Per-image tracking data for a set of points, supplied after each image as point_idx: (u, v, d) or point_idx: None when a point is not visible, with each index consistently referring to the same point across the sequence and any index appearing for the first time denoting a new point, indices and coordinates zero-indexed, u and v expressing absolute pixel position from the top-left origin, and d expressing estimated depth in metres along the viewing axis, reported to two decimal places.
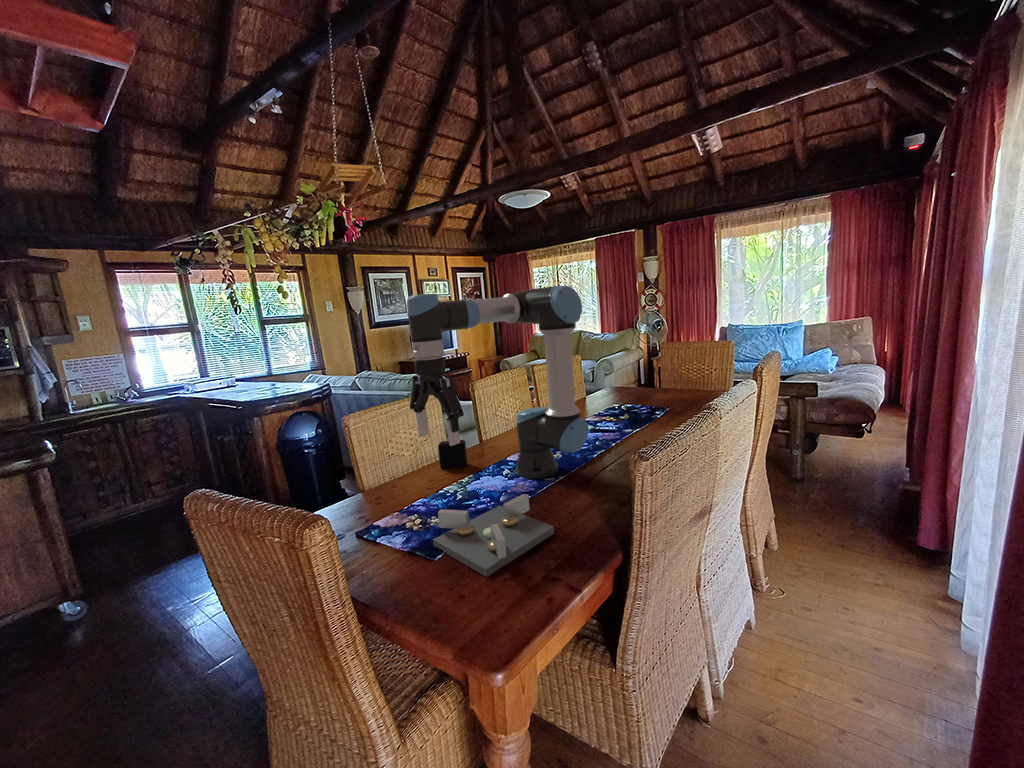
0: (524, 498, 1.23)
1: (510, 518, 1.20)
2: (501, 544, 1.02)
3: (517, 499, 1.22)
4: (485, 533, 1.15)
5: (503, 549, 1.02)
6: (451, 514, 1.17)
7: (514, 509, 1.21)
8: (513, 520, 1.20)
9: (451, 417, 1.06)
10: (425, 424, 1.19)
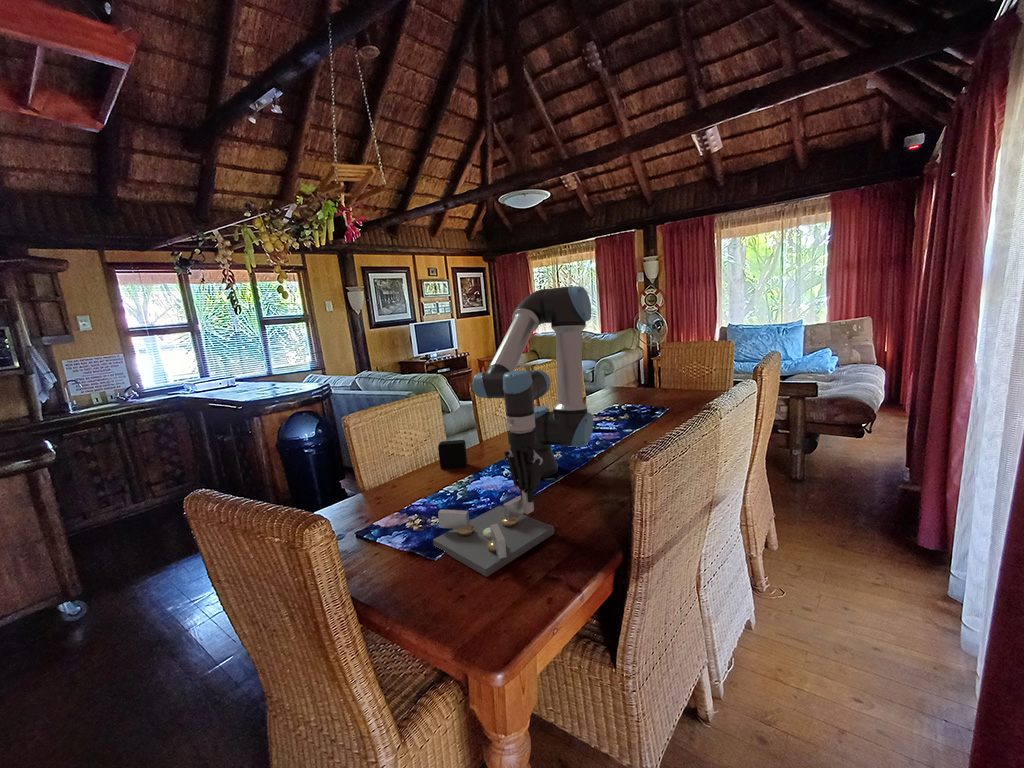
0: None
1: (510, 518, 1.20)
2: (501, 544, 1.02)
3: (517, 499, 1.22)
4: (485, 533, 1.15)
5: (503, 549, 1.02)
6: (451, 514, 1.17)
7: (514, 509, 1.21)
8: (513, 520, 1.20)
9: (528, 491, 1.19)
10: None
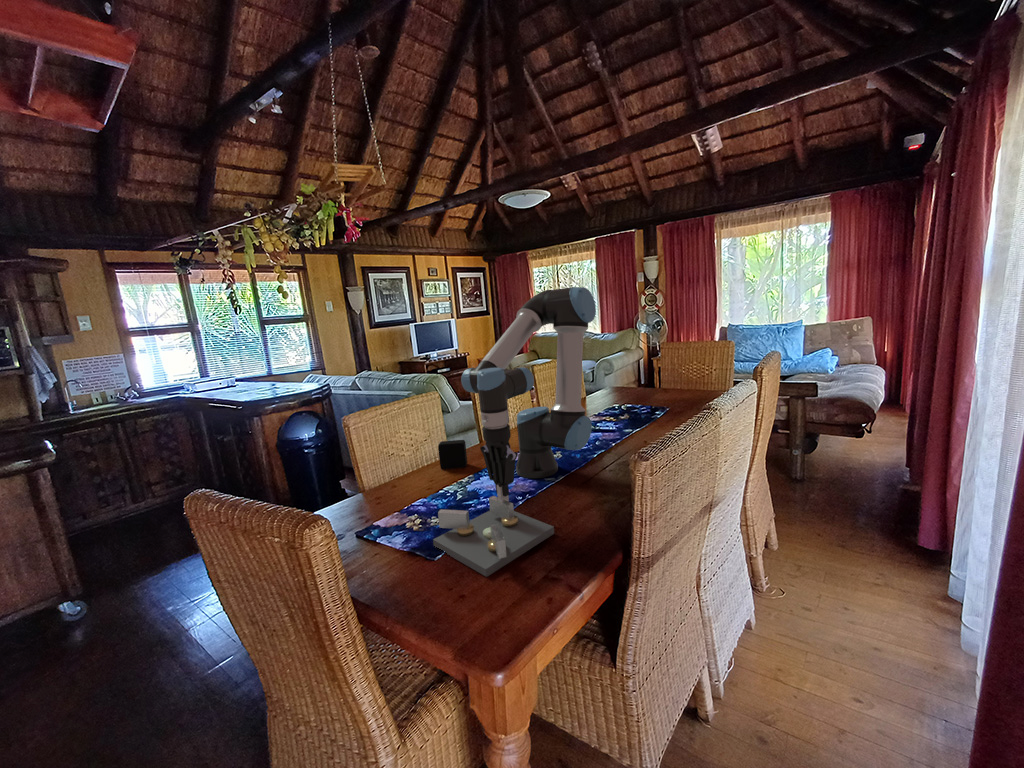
0: None
1: None
2: (501, 544, 1.02)
3: (500, 500, 1.23)
4: (485, 533, 1.15)
5: (503, 549, 1.02)
6: (451, 514, 1.17)
7: None
8: (513, 516, 1.22)
9: (503, 485, 1.22)
10: None
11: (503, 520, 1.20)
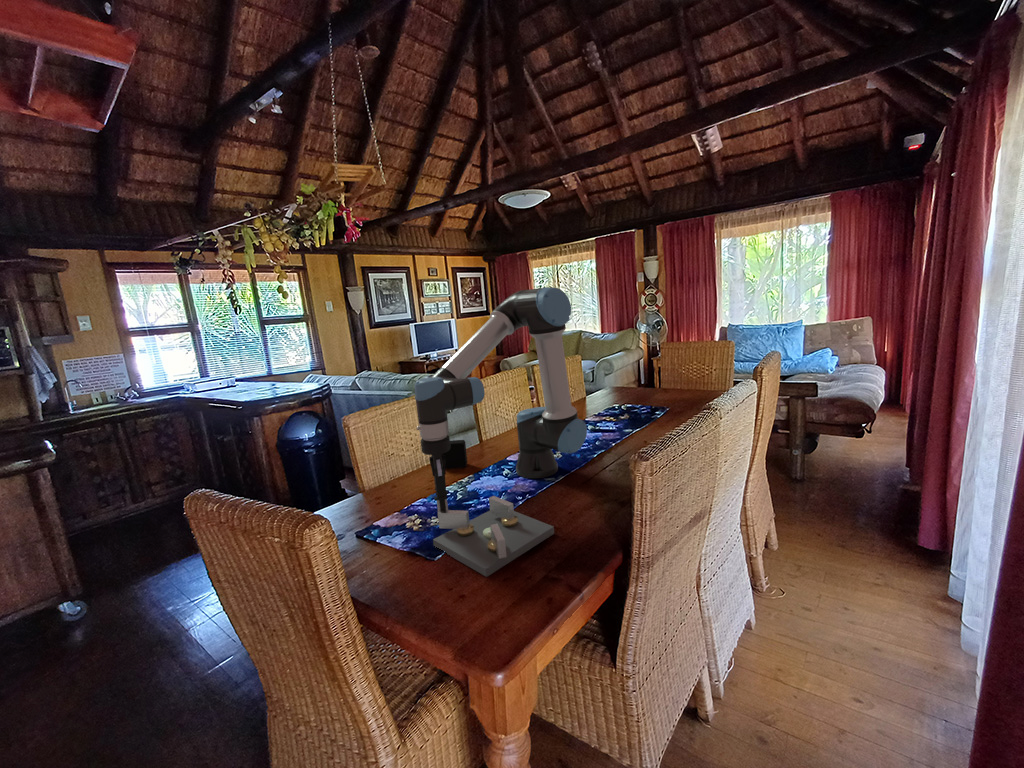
0: None
1: None
2: (501, 544, 1.02)
3: (500, 500, 1.23)
4: (485, 533, 1.15)
5: (503, 549, 1.02)
6: (451, 514, 1.17)
7: None
8: (513, 516, 1.22)
9: None
10: None
11: (503, 520, 1.20)
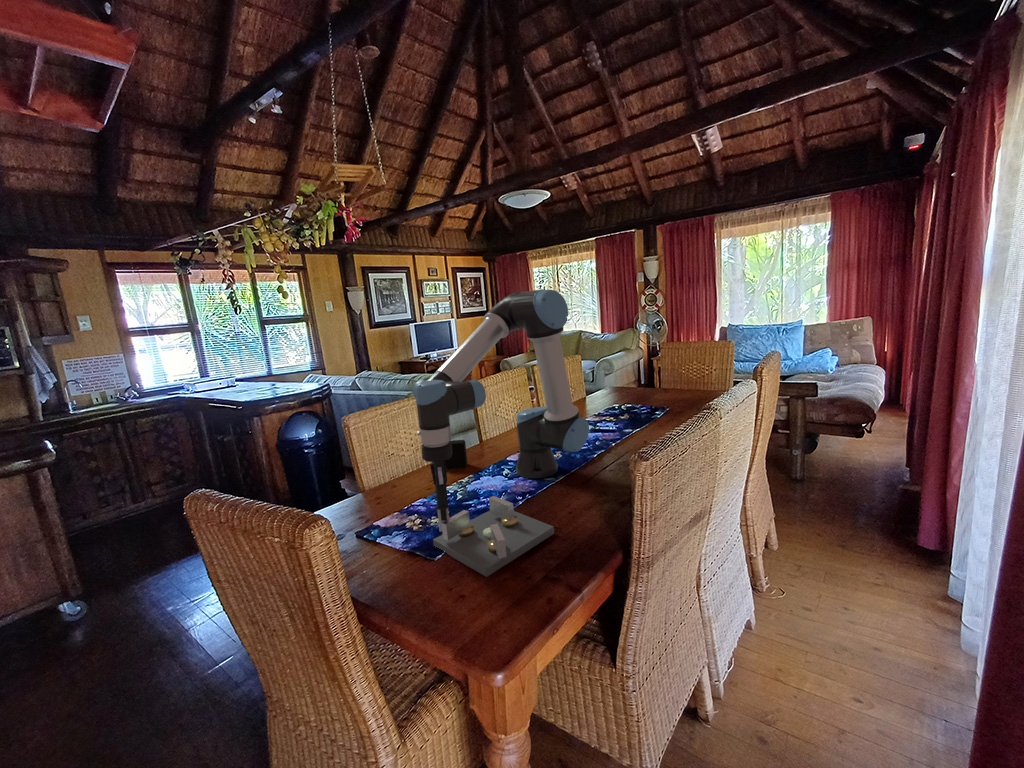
0: None
1: None
2: (501, 544, 1.02)
3: (500, 500, 1.23)
4: (485, 533, 1.15)
5: (503, 549, 1.02)
6: (457, 519, 1.14)
7: None
8: (513, 516, 1.22)
9: (438, 508, 1.12)
10: None
11: (503, 520, 1.20)
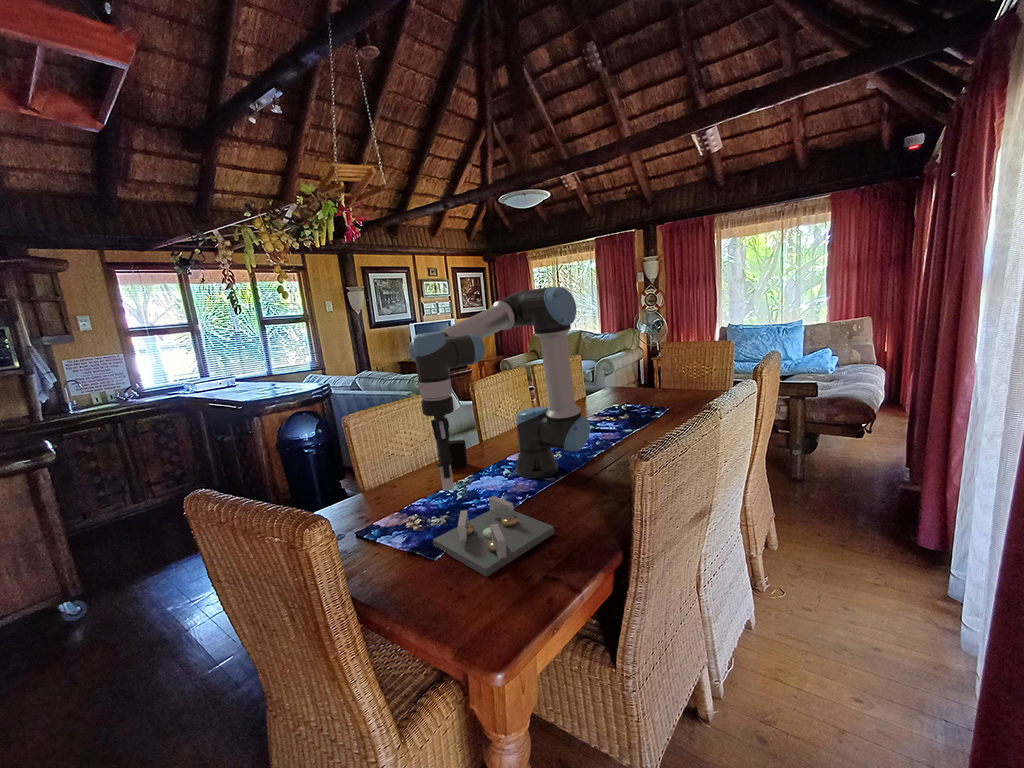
0: None
1: None
2: (501, 544, 1.02)
3: (500, 500, 1.23)
4: (485, 533, 1.15)
5: (503, 549, 1.02)
6: (466, 518, 1.14)
7: None
8: (513, 516, 1.22)
9: (440, 465, 1.08)
10: None
11: (503, 520, 1.20)
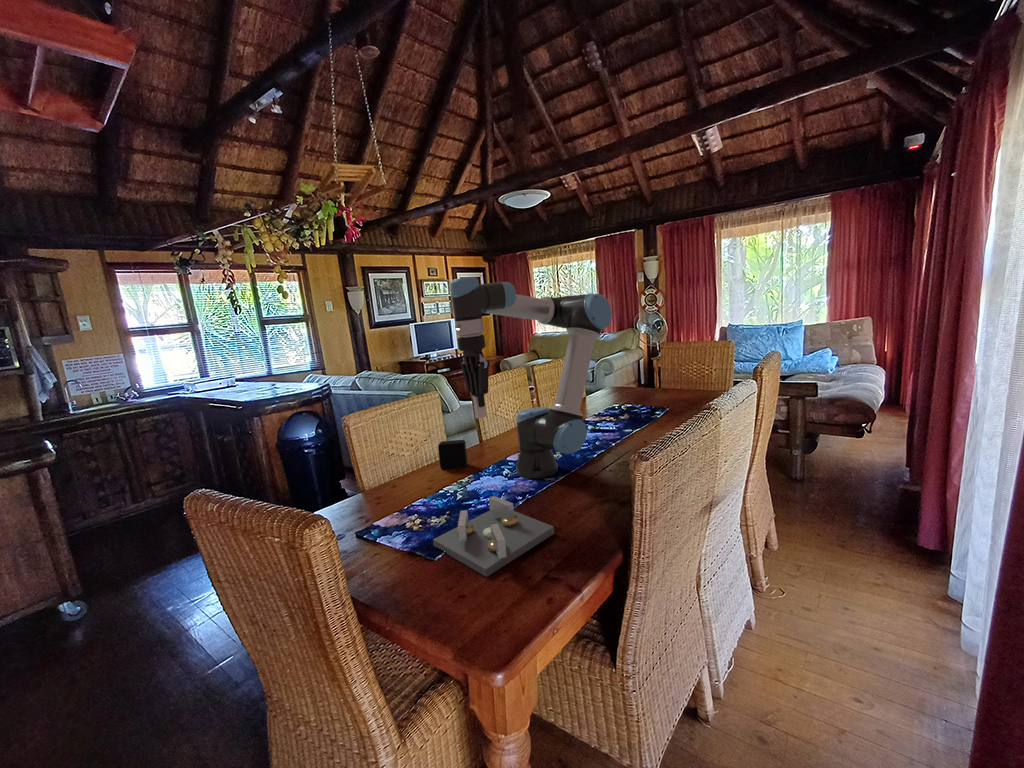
0: None
1: None
2: (501, 544, 1.02)
3: (500, 500, 1.23)
4: (485, 533, 1.15)
5: (503, 549, 1.02)
6: (466, 518, 1.14)
7: None
8: (513, 516, 1.22)
9: (477, 395, 1.24)
10: None
11: (503, 520, 1.20)
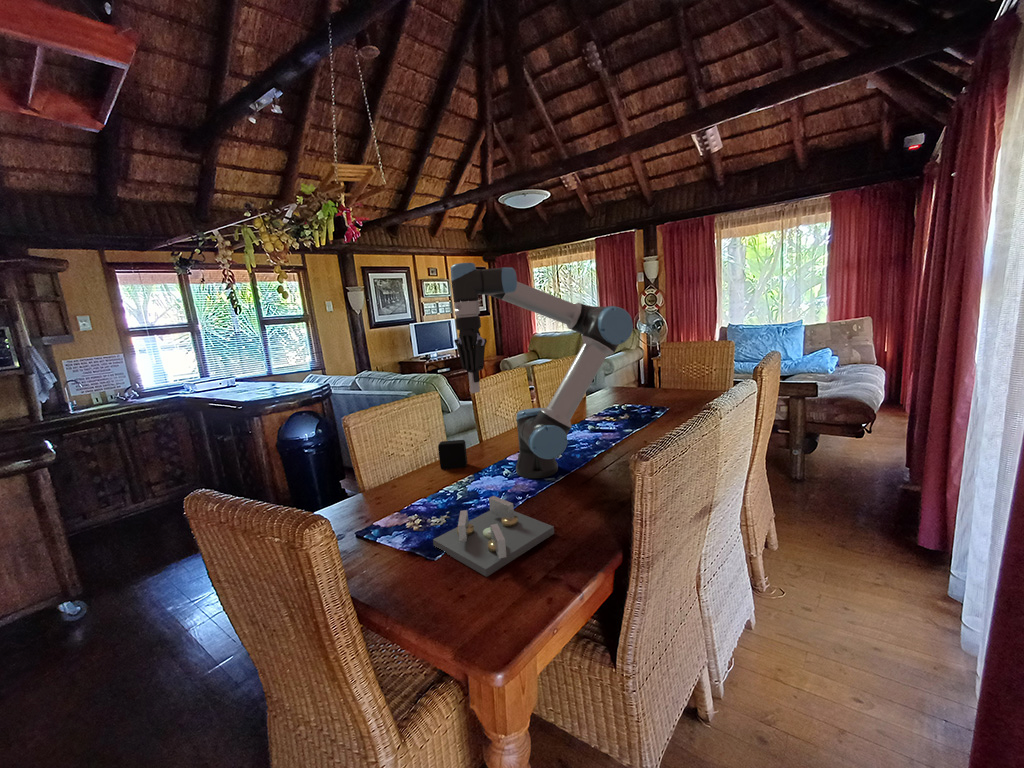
0: None
1: None
2: (501, 544, 1.02)
3: (500, 500, 1.23)
4: (485, 533, 1.15)
5: (503, 549, 1.02)
6: (466, 518, 1.14)
7: None
8: (513, 516, 1.22)
9: (473, 371, 1.36)
10: None
11: (503, 520, 1.20)
